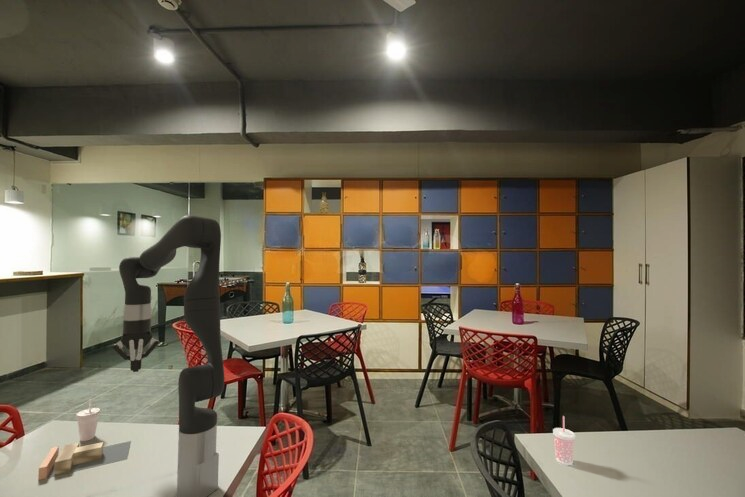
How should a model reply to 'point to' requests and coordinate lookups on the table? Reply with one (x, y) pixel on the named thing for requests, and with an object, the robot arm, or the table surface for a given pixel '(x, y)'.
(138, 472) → the table surface
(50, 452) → the rail
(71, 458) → the t block
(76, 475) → the table surface
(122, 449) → the mat
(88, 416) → the smoothie
